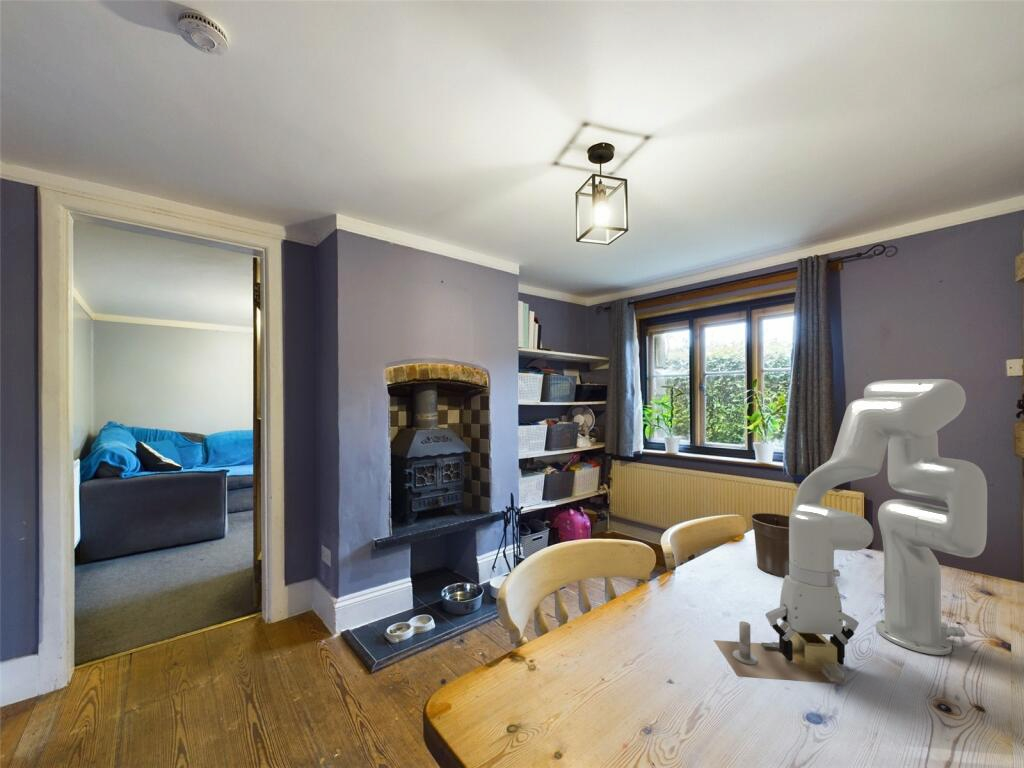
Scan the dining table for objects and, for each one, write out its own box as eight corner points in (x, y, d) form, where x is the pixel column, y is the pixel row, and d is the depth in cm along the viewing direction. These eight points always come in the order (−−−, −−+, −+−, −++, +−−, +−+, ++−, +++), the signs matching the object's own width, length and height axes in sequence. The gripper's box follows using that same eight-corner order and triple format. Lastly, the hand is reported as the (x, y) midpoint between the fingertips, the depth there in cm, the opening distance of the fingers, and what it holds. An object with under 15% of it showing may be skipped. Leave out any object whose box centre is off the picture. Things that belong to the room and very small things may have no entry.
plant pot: (823, 582, 126) (823, 528, 127) (769, 581, 126) (769, 527, 127) (788, 560, 142) (788, 513, 143) (740, 560, 143) (740, 512, 143)
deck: (809, 652, 91) (809, 613, 91) (848, 690, 79) (847, 646, 79) (713, 645, 93) (713, 608, 93) (737, 682, 81) (737, 639, 81)
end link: (817, 654, 88) (817, 630, 88) (837, 673, 82) (837, 647, 82) (787, 652, 89) (787, 629, 89) (804, 671, 83) (804, 645, 83)
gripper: (843, 568, 89) (844, 650, 88) (757, 564, 91) (758, 644, 90) (870, 584, 81) (871, 674, 81) (776, 579, 83) (776, 667, 83)
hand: (811, 658), depth 86 cm, fingers open, 9 cm apart
